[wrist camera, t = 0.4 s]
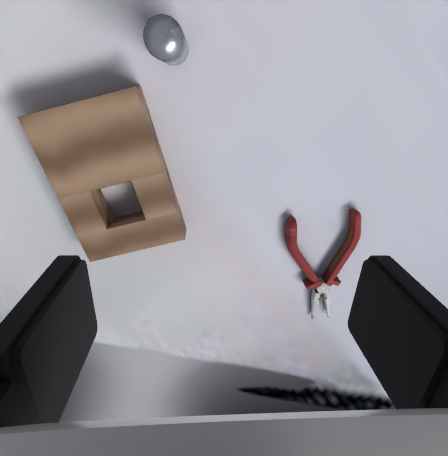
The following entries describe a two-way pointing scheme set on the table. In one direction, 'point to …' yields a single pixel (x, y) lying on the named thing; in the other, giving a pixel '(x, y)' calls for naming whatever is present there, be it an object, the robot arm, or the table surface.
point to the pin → (165, 39)
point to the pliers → (335, 266)
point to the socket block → (107, 171)
